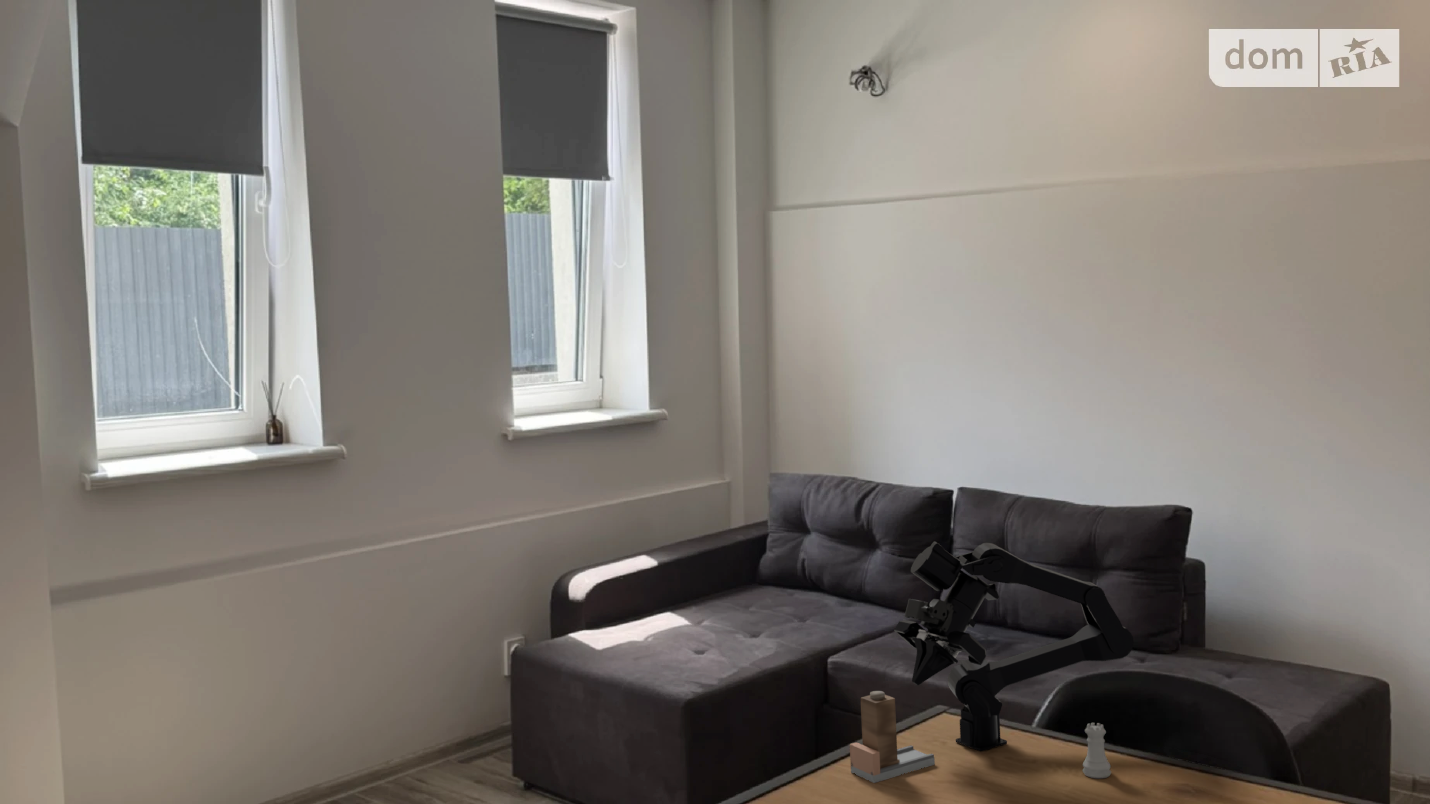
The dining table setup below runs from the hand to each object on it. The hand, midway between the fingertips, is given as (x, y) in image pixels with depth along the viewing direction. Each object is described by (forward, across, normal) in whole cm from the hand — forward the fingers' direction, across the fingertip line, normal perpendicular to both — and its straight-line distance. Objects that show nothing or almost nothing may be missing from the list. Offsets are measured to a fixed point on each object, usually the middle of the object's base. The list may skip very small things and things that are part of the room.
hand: (914, 683), depth 201 cm
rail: (+14, 0, +5) cm, 14 cm away
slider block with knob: (+14, 0, +2) cm, 15 cm away
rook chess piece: (-2, +21, +24) cm, 32 cm away
